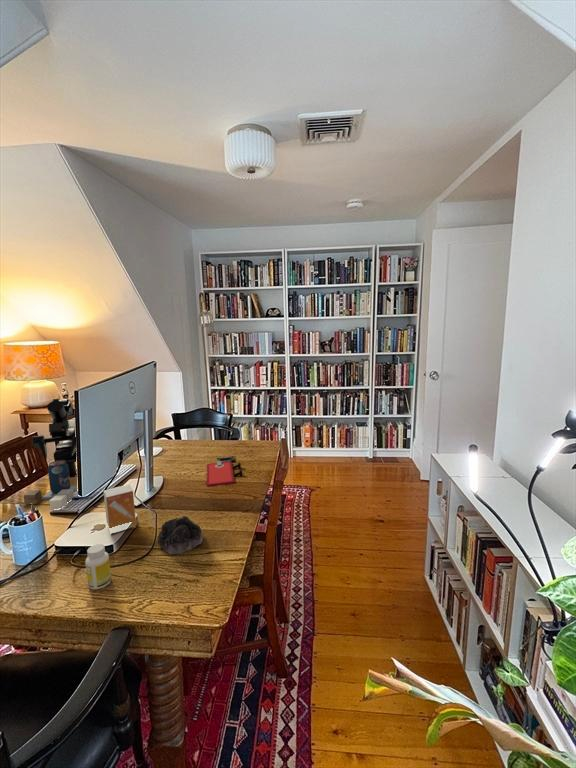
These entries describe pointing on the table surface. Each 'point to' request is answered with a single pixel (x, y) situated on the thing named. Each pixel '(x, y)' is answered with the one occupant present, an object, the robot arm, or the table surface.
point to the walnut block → (32, 496)
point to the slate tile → (51, 495)
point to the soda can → (58, 476)
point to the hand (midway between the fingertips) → (58, 457)
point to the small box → (119, 506)
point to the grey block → (67, 493)
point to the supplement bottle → (98, 567)
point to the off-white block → (58, 501)
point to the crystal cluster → (179, 535)
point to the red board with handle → (222, 471)
